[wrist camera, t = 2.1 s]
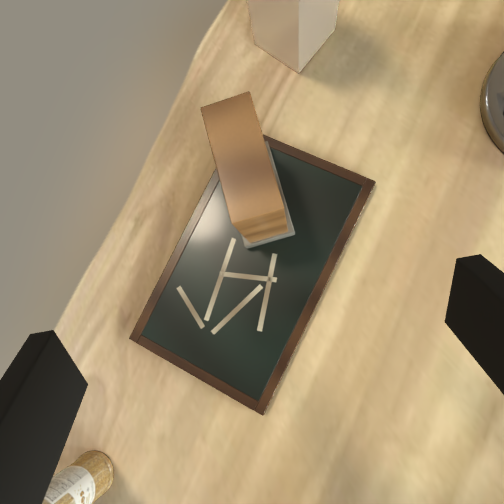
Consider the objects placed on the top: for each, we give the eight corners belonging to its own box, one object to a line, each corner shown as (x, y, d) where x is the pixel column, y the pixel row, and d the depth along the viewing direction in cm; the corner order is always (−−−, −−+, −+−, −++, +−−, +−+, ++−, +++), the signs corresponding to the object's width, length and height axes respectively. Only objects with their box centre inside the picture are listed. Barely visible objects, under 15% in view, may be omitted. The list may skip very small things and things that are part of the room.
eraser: (223, 161, 37) (192, 107, 27) (268, 147, 37) (256, 85, 26) (246, 249, 36) (224, 229, 25) (295, 234, 35) (293, 208, 25)
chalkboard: (239, 128, 39) (238, 123, 38) (374, 184, 36) (376, 181, 35) (133, 337, 37) (128, 338, 36) (264, 412, 35) (263, 416, 34)
